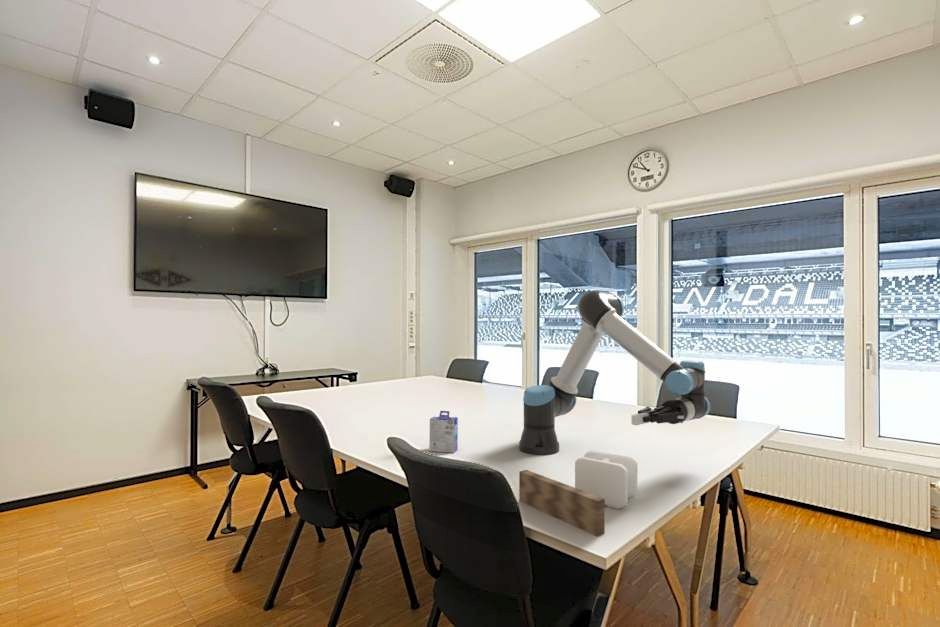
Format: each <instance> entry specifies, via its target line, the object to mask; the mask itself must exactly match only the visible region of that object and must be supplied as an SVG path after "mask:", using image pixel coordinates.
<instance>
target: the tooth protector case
mask: <svg viewBox="0 0 940 627" xmlns="http://www.w3.org/2000/svg"><path fill="white" fill-rule="evenodd" d="M574 488H577V489H580V490H582V491H585V492H588V493H590V494H593V495H596V496H599V497H601V498H604V499H605V506H606V507H607V506H609V507H608V508H611V507H612V509H615V508H617V509H616V510H619V509H622V508H625V507H626V505H628V501H629V499H633V498H635V497H636V496H637V494H638V462H637V461H636V459H634V458H633V457H630V456H624V455H619V454H614V453H609V452H603V451H602V452H601V451H597V450H589V451H587V452H586V453H585V454H584V455H583V456H581V457H579V458H576V460H575V462H574ZM628 498H629V499H628Z"/></svg>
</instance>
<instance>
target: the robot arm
mask: <svg viewBox="0 0 940 627" xmlns="http://www.w3.org/2000/svg"><path fill="white" fill-rule="evenodd" d="M577 308H578V313H579V315H580V317H581V318H580V320H581V322H582V325H581V327H580V328H579V331H578V332H577V335H576V336H575V339H574V341H573V343H572V344H571V347H570V348H569V350H568V353H567V355H566V356H565V359H564V361H563V362H562V365H561V367H560V369H559V371H558V373H557V375H556V376H552V377H551V378H550V380H549V382H548V384H547V385H546V384H537V385H531V386H529V387H527V388H526V389H524V393H523V399H522V400H523V430H522V432H521V436H520V440H519V442H518V448H519V450H520V451H521V452H524V453H527V454H532V455H552V454H555V453H558V452H559V451H560V443H559V441H558V436H557V433H556V430H555V428H556V427H555V425H556V424H555V423H556V422H555V420H556V417H557V418H558V417H560V416H561V417H562V416H564V415H567V414H568V413H570V412H571V411H572V410H574V409H575V406H576V403H577V397H576V396H577V395H578V393H579V389H578V387H577V386H578V385H579V382H580V381H581V378H582V377H583V374H584V373H585V370H586V368H587V367H588V365H589V363H590V360H591V359H592V357H593V355H594V353H595V351H596V349H597V348H598V346H599V343H600V342H601V340H602V338H603V336H604V335H606V336H608V338H610V339H612V340H613V341H614V342H615V343H616V344H618V346H620V347H621V348H623V350H625V351H626V352H627V353H629V354H630V356H632V358H634V359H635V360H637V362H639V363H640V364H641V365H642V366H644V367H645V368H646V369H647V370H649V371H650V372H651V373H652V374H654V375H655V376H656V377H657V378H658V379H659V380H661V381H662V382H663V383H664V384H665V385H664V386H665V387H666V389H667V391H669V392H670V393H671V394H673V395H675V396H676V395H677V396H679V397H678V398H673V399H669V400H665V401H663V403H662V404H661V405H660V406H658V407H653V409H652V407H650V406H645V407H644V408H641V409H640V410H638V411H637V413H636V414H632V415H631V425H632V426H640V425H645V424H648V423H651V424H652V423H653V424H654V423H656V424H666V423H668V424H670V425H676V424H683V423H684V422H689V421H692V420H699V419H702V418H704V417H706V416H707V415H708V414H709V413H710V411H711V403H710V401H709V399H708V398H707V397H706V396H705V394H706V392H705V387H706V386H705V383H706V382H705V380H706V379H705V378H706V375H705V374H706V370H705V363H704V362H703V361H701V360H693V359H692V360H691V359H690V360H686V359H685V360H684V359H683V360H681V361H680V363H678V362H677V361H676V360H675V359H674V358H672V357H671V356H670V355H668V353H666V352H665V351H664V350H662V349H661V348H660V347H658V345H656V344H655V343H654V342H652V341H651V340H650V339H649V338H647V337H646V336H645V335H644V334H642V333H641V332H640V331H639V330H637V329H636V328H635V327H633V326H632V325H631V324H630V323H629V322H627V321H626V320H625V319H623V318H622V317H623V315H624V311H625V305H624V303H623V300H622V298H621V297H620V296H619V295H618V294H616V293H613V292H611V291H601V290H590V291H588V292H585V293H584V294H583V295H582V296H581V297H580V298H579V300H578V306H577Z"/></svg>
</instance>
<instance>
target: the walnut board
mask: <svg viewBox="0 0 940 627" xmlns="http://www.w3.org/2000/svg"><path fill="white" fill-rule="evenodd" d="M518 473H519V476H518V477H519V479H518V480H519V486H518V487H519V490H518V491H519V494H518V495H519V497H518V498H519V499H518V500H519V502H521V503H523V504H525V505H527V506H529V507H532V508H534V509H537V510H539V511H541V512H542V513H545V514H547V515H550V516H551V515H552V517H554V518H556V519H558V520H560V521H563V522H565V523H566V524H569V525H571V526H574V527H575V528H577V529H581V530H583V531H585V532H587V533H589V534H592V535H594V536H596V537H599V536H601V535H604V534H605V531H606V530H605V529H606V528H605V524H606V522H605V516H606V515H605V508H606V507H605V506H606V505H605V499H604V498H601V497H599V496H596V495H593V494H590V493H588V492H585V491H582V490H580V489H577V488H575V486H574V487H573V486H571V485H568V484H566V483H563V482H560V481H557V480H556V479H552V478H550V477H547V476H544V475H543V474H542V475H541V474H538V473H536V472H533V471H531V470H528V469H523V470H520V471H519V472H518Z"/></svg>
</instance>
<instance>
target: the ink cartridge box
mask: <svg viewBox="0 0 940 627" xmlns="http://www.w3.org/2000/svg"><path fill="white" fill-rule="evenodd" d="M444 413H445V414H444ZM458 425H459V419H458V417H455V416H450V410H440V413H439V416H432V417H431V418H429V449H428V450H429V452H439V453H451V454H452V453H455V452H456V451H458V450H459V448H458V447H459V446H458V445H459V444H458V441H459V440H458V439H459V438H458V437H459V435H458V433H459V432H458V431H459V427H458Z"/></svg>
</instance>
